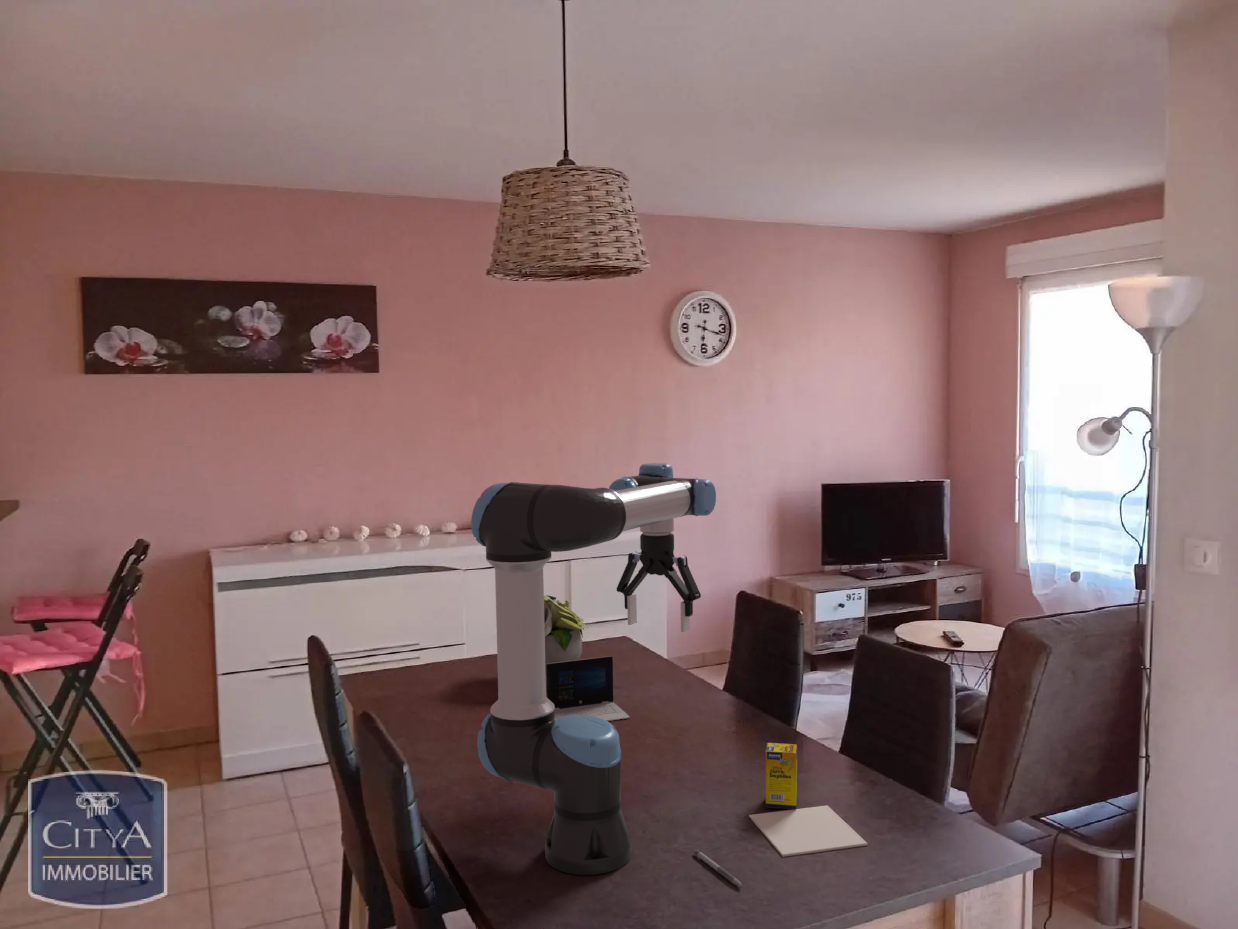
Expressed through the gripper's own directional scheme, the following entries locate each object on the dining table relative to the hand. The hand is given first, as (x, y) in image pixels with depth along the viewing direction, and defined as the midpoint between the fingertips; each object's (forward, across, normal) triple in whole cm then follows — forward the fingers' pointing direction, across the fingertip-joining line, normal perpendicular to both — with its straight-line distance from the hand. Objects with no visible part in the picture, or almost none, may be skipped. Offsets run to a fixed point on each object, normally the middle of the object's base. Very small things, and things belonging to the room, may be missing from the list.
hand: (658, 627), depth 213 cm
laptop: (+28, +27, -11) cm, 41 cm away
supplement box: (+28, -35, +14) cm, 47 cm away
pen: (+29, -35, +43) cm, 63 cm away
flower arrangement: (+28, +54, -30) cm, 68 cm away
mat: (+28, -43, +22) cm, 56 cm away
